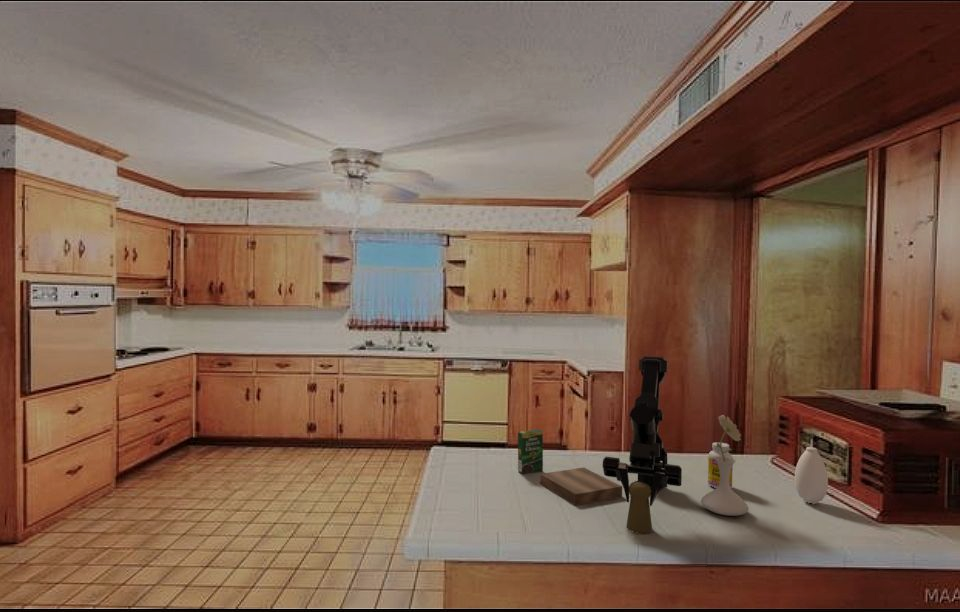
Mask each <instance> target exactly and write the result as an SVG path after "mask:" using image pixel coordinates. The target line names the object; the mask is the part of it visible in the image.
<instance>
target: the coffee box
mask: <svg viewBox="0 0 960 612" xmlns="http://www.w3.org/2000/svg"><path fill="white" fill-rule="evenodd" d="M543 435H544V431H543V430H540V429H533V430H525V431H524V430H523V431H517V471H519V472H518V473H520V474H521V473H522V474H529V473H537V472H543V471H544V458H543V457H544V452H543V451H544V446H543V445H544V443H543V442H544V441H543V439H544V437H543Z"/></svg>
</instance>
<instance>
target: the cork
mask: <svg viewBox="0 0 960 612" xmlns="http://www.w3.org/2000/svg"><path fill="white" fill-rule="evenodd" d="M629 496H630V498H629V505H628V513H627V520H626V529H627V528H628V529H629V530H628V529H627V530H628V531H630V530H631V531H633V532H632V533H634V532H638V533H648V532H651V531H652V532H653V525H652V517H651V516H652V515H651V508H650V507H651V506H650V496H651V488H650V486H649V485H648V484H646V483H644V482H635V481H632V482H631V483H629ZM631 531H630V532H631ZM652 532H651V533H652ZM638 533H637V534H638ZM648 534H649V533H648Z"/></svg>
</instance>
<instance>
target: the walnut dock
mask: <svg viewBox="0 0 960 612" xmlns="http://www.w3.org/2000/svg"><path fill="white" fill-rule="evenodd" d="M539 484H540V485H541V486H542V487H545V488H546V489H548V490H550V491H551V492H553V493H555V494H556V495H558V496H559V497H561V498H562V499H564V500H566V501H567V502H569V503H571V504H572V505H574V506H580V505H583V504H590V503H595V502H601V500H602V501H606V500H605V499H607V500H611V499H612V498H613V499H617V497H618V498H622V497H623V485H622V484H618V483H616V482H614V481H613V480H612V479H611V480H610V479H608V478H606V477H605V476H602V475H600V474H598V473H596V472H594V471H592V470H590V469H588V468H586V467H578V468H571V469H565V470H558V471H557V470H556V471H550V472H543V473H540V475H539ZM613 499H612V500H613Z"/></svg>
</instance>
